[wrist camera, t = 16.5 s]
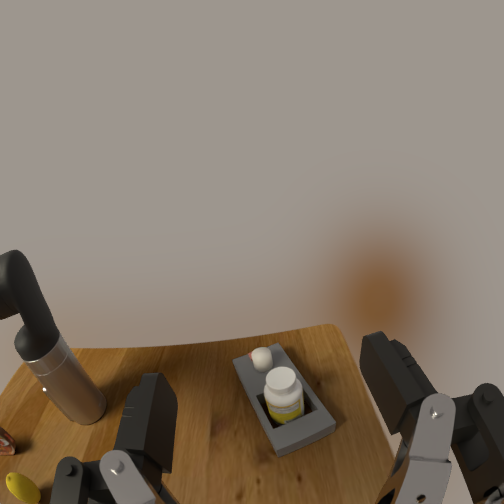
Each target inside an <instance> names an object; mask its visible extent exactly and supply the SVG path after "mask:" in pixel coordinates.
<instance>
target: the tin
mask: <svg viewBox="0 0 504 504" xmlns="http://www.w3.org/2000/svg"><path fill="white" fill-rule="evenodd" d="M15 446H16V444H15V441H14V439H13V438H12V437H11V436H10V435H9V434H8V433H7V432H6V431H5V430H4V429H3V428H1V427H0V455H13V454H14V453H15Z"/></svg>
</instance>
